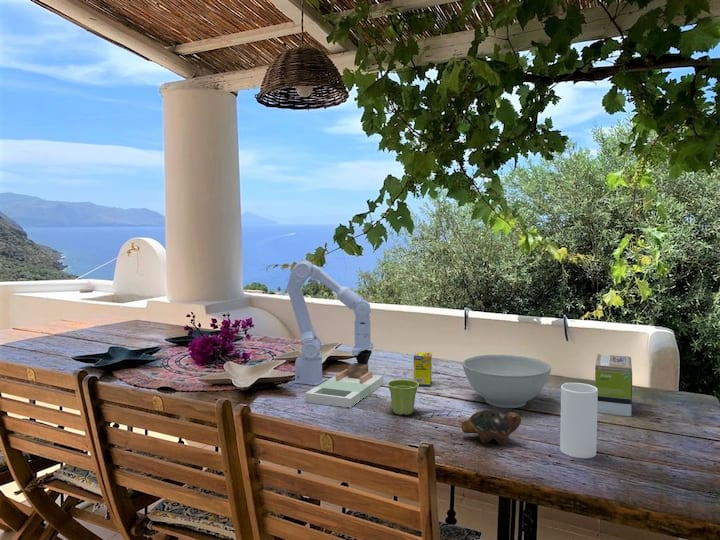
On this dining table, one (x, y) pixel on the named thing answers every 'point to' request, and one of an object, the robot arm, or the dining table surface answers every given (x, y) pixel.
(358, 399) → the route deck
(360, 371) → the walnut block
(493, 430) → the decorative turtle
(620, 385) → the tea box
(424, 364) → the supplement box
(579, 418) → the cup
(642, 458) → the dining table surface
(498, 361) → the decorative bowl
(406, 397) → the plant pot
